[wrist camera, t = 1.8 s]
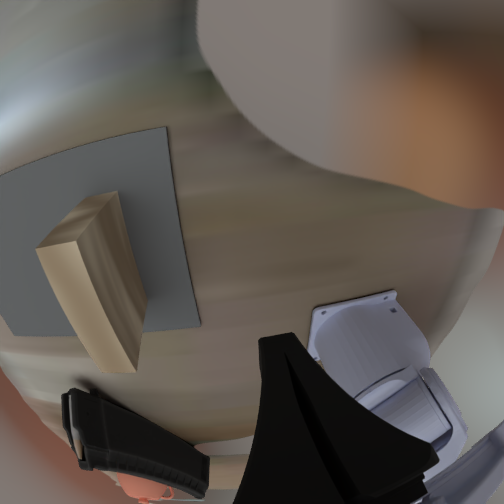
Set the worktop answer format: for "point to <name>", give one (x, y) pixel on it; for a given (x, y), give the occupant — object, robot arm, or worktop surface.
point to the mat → (65, 200)
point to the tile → (98, 281)
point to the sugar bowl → (143, 488)
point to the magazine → (130, 444)
